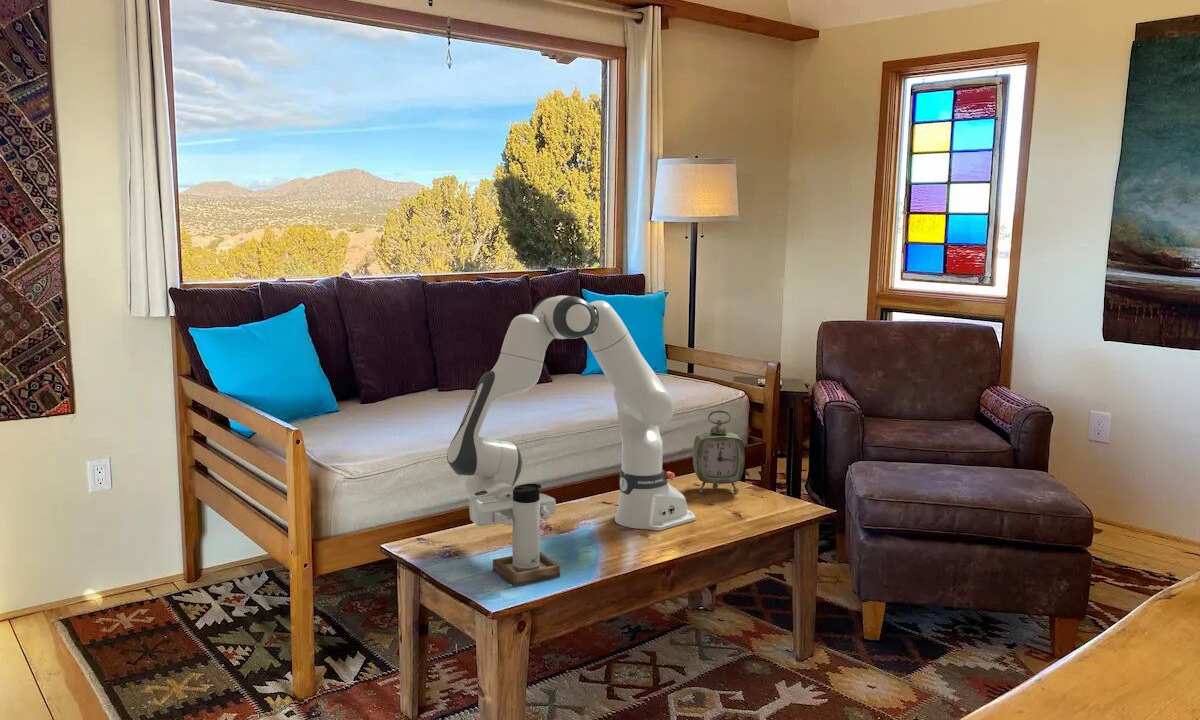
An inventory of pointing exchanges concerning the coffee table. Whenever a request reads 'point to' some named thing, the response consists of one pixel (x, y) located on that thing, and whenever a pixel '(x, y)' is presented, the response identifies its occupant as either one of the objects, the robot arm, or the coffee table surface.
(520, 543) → the travel mug
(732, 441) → the tabletop clock
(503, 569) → the tray
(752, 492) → the coffee table surface
